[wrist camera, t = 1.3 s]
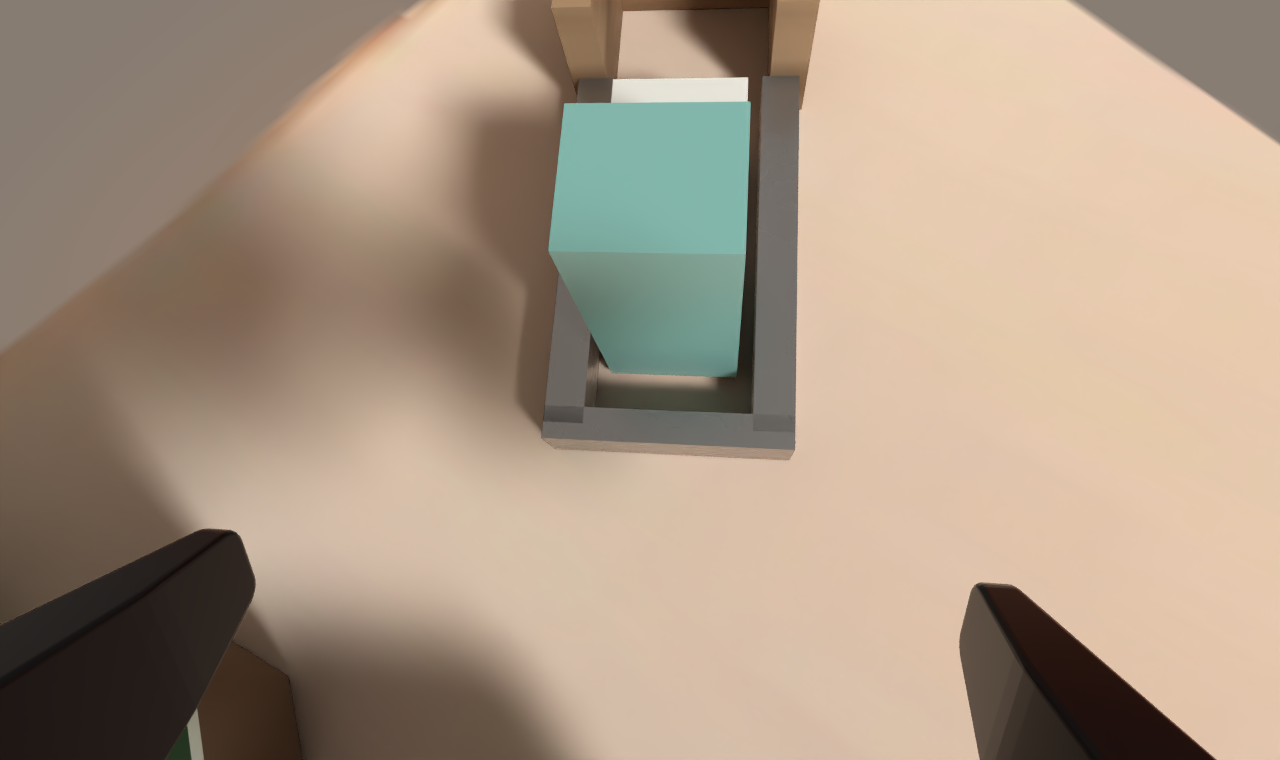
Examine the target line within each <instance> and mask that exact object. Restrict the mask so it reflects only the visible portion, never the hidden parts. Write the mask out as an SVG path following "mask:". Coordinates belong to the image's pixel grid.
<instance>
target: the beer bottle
mask: <svg viewBox="0 0 1280 760" xmlns="http://www.w3.org/2000/svg"><path fill="white" fill-rule="evenodd" d="M166 760H303V759H302V753H301V747H300V741H299V735H298V729H297V723H296V717H295V711H294V705H293V699H292V694H291V688H290V682H289V678H288V677H287V675H285V674H284V673H282V672H280V671H279V670H277V669H276V668H274V667H272V666H271V665H269V664H268V663H266V662H264V661H263V660H261V659H260V658H258V657H256V656H255V655H253V654H252V653H250V652H249V651H247V650H245V649H244V648H242V647H241V646H239V645H237V644H236V643H234V642H233V641H231V643H230V645H229V647H228V649H227V651H226V653H225V655H224V657H223V659H222V661H221V663H220V664H219V666H218V668H217V670H216V672H215V674H214V676H213V678H212V680H211V682H210V684H209V686H208V688H207V690H206V692H205V694H204V696H203V698H202V700H201V702H200V703H199V705H198V707H197V709H196V711H195V712H194V714H193V716H192V718H191V719H190V721H189V723H188V724H187V726H186V728H185V729H184V731H183V732H182V734H181V736H180V737H179V739H178V741H177V742H176V744H175V745H174V747H173V749H172V750H171V752H170V753H169V755H168V757H167V758H166Z"/></svg>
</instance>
